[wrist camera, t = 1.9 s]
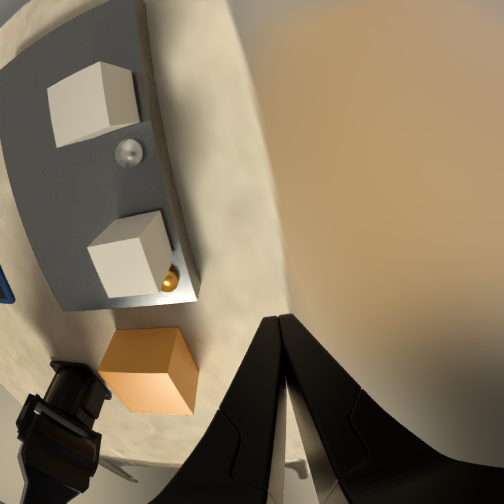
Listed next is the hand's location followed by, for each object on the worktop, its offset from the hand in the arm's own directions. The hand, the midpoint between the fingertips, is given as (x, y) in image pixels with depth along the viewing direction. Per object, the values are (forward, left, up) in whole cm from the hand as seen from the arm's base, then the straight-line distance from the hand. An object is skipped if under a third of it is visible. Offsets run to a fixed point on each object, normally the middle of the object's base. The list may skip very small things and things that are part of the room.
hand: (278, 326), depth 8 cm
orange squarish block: (-11, -12, -10) cm, 19 cm away
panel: (-11, +5, -10) cm, 16 cm away
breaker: (-7, +8, -8) cm, 13 cm away
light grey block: (-7, 0, -8) cm, 11 cm away
